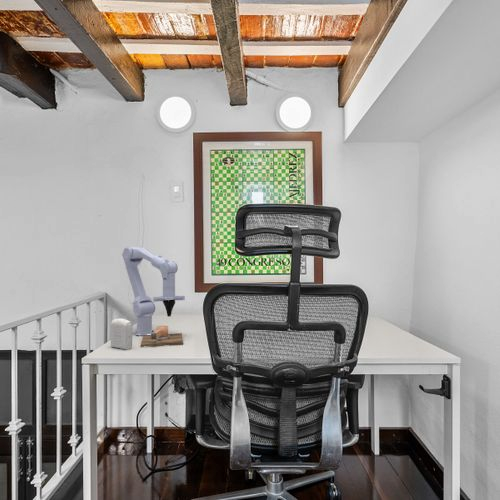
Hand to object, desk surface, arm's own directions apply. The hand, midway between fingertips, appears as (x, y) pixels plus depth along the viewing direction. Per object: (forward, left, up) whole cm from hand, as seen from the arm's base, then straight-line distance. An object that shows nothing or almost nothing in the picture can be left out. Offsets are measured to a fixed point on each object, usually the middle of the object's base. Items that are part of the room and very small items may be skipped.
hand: (169, 316), depth 182 cm
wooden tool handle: (+9, -4, -8) cm, 13 cm away
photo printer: (+13, -20, -11) cm, 26 cm away
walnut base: (+5, -3, -10) cm, 12 cm away
